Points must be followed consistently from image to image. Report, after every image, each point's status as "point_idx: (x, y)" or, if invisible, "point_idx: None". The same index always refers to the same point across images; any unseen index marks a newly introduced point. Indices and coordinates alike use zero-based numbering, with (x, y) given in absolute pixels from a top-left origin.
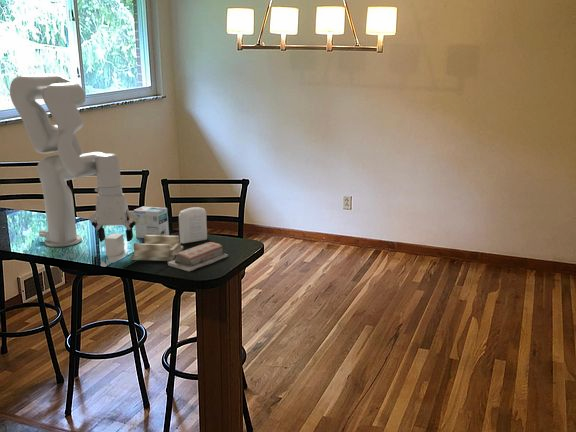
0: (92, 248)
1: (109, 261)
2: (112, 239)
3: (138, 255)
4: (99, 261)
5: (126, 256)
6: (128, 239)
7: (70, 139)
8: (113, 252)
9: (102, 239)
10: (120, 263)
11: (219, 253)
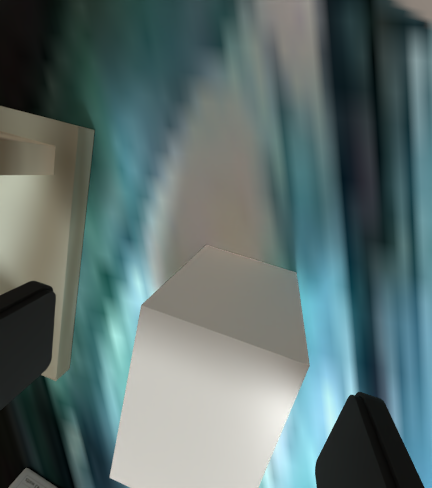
0: (426, 469)
1: (248, 104)
2: (193, 318)
3: (22, 137)
4: (340, 115)
5: (139, 216)
6: (17, 287)
7: None
8: (230, 262)
9: (346, 425)
10: (149, 36)
11: None
